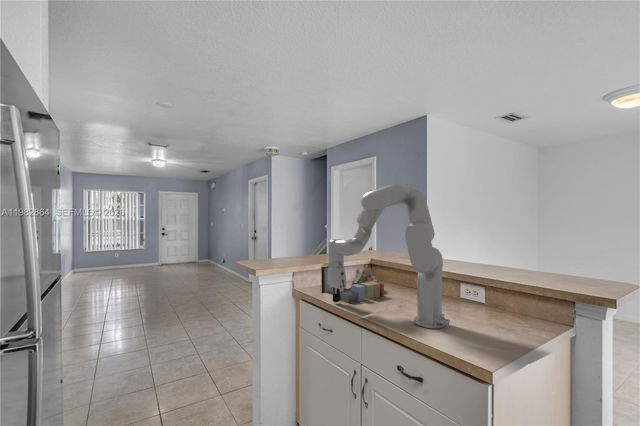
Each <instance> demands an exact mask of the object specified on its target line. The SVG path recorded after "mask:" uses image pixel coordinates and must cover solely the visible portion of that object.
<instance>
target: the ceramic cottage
mask: <svg viewBox="0 0 640 426" xmlns="http://www.w3.org/2000/svg"><path fill="white" fill-rule="evenodd" d="M371 281H376V282H380V279H379V277H378V276H377V275H375V276H374V275H373V272H372V269H371V268H369V265H368V264H366V265H365V266H364V269H363V271H362V273H361V272H360V269H359V268H357V269H355V275H354V277H353V279H352V280H351V285H354V284H359V285H361V283H367V282H371ZM380 283H381V282H380Z"/></svg>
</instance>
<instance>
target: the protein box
mask: <svg viewBox="0 0 640 426" xmlns="http://www.w3.org/2000/svg"><path fill="white" fill-rule="evenodd" d="M328 267H329V261H324V262H323V263H322V265H321V266H320V271H321V272H320V273H321V294H325V293H332V289H331V288H330V287H329V285H328V281H327V278H328Z"/></svg>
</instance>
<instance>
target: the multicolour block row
mask: <svg viewBox="0 0 640 426" xmlns="http://www.w3.org/2000/svg"><path fill="white" fill-rule="evenodd" d="M373 282H376V281H373ZM376 283H380V297H376V298H371V299H367V298H365V300H362V301H357V302H352V303H346V302H344V301H341V295H340V301H341V302H343V303H345V304H348V305H353V304H357V303H362V302H366V301H367V302H368V301H370V300H371V301H372V300H374V299H375V300H376V299H381V298H384V297H385V283H383V282H376ZM340 301H339V302H340Z"/></svg>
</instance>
